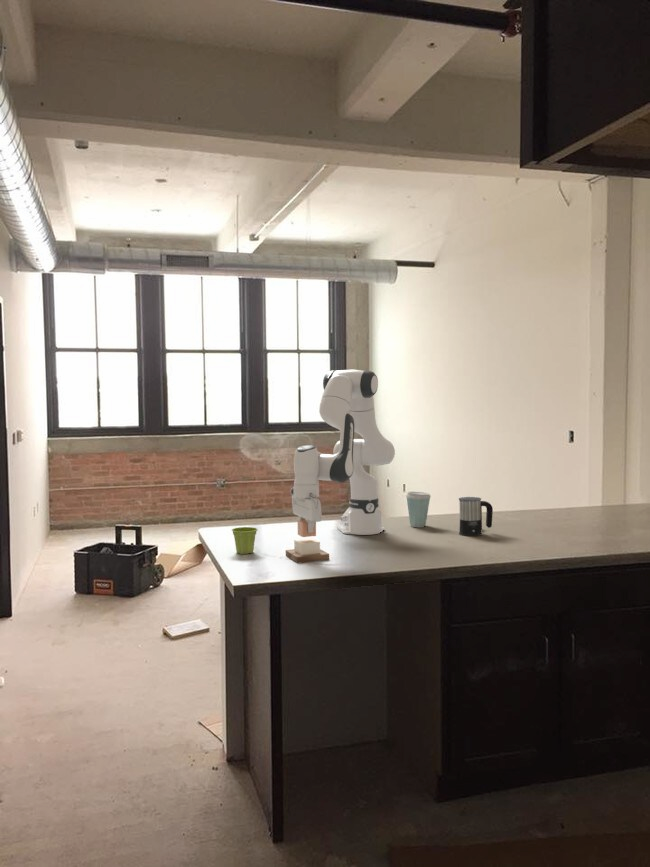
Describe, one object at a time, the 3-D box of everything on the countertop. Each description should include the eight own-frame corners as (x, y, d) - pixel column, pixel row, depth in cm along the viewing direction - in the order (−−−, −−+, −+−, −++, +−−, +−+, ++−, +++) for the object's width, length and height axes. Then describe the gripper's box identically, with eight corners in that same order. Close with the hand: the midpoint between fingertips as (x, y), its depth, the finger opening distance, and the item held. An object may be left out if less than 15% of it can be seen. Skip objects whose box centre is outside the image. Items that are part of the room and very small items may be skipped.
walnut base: (285, 555, 252) (285, 550, 252) (316, 552, 256) (316, 547, 256) (297, 563, 241) (296, 557, 240) (329, 559, 245) (329, 553, 245)
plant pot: (234, 549, 262) (233, 526, 262) (259, 549, 262) (259, 526, 261) (230, 555, 253) (229, 531, 252) (256, 555, 252) (255, 531, 252)
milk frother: (466, 537, 281) (467, 500, 280) (445, 530, 296) (445, 495, 295) (496, 534, 287) (496, 498, 286) (473, 527, 301) (473, 493, 300)
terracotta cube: (297, 534, 249) (297, 520, 249) (310, 533, 251) (310, 519, 251) (302, 537, 244) (302, 522, 244) (315, 535, 246) (315, 521, 246)
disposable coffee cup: (420, 523, 312) (420, 489, 312) (435, 526, 303) (435, 492, 302) (401, 525, 307) (401, 491, 306) (416, 529, 298) (416, 494, 297)
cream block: (294, 550, 250) (294, 539, 250) (312, 549, 253) (312, 538, 253) (301, 555, 244) (301, 543, 243) (319, 553, 246) (319, 541, 246)
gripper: (326, 494, 239) (326, 535, 239) (304, 487, 257) (305, 525, 258) (308, 496, 236) (309, 536, 237) (288, 488, 255) (289, 526, 256)
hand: (306, 530), depth 248 cm, fingers closed on terracotta cube, 5 cm apart
